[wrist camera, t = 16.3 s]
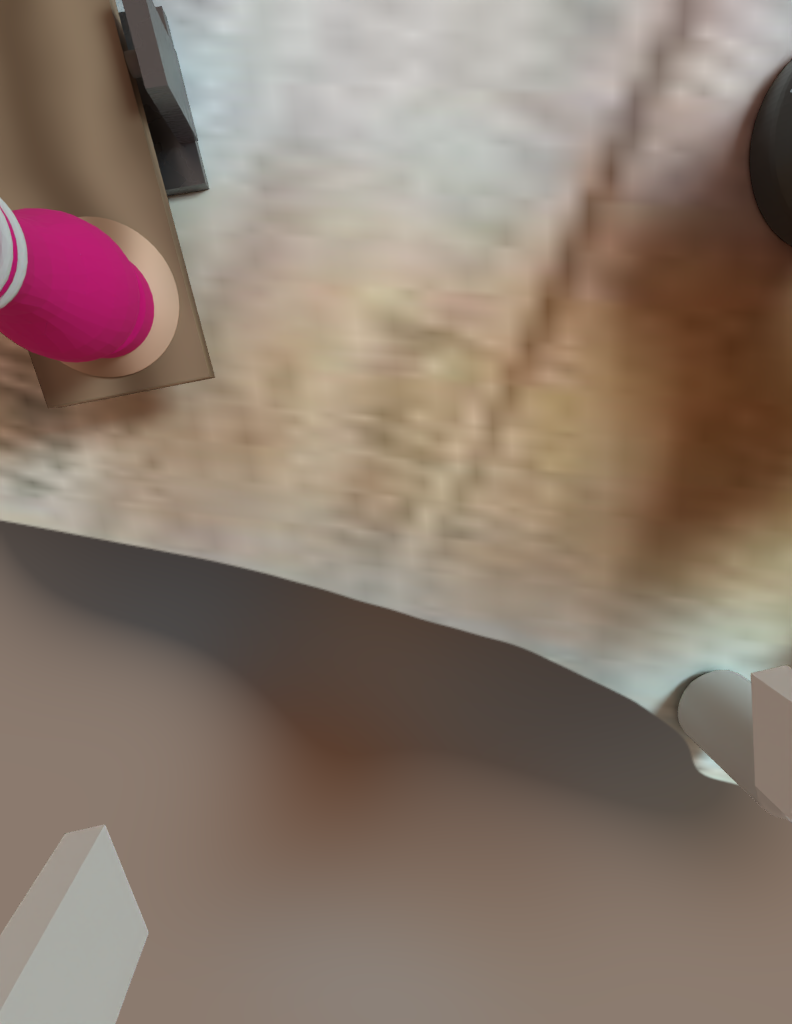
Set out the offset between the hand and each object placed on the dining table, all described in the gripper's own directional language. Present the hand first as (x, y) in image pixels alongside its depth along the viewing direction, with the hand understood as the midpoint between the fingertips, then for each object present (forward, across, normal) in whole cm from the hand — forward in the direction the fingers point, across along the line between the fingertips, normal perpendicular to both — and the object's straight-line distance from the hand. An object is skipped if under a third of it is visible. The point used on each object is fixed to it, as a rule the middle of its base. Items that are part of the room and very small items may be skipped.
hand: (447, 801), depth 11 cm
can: (+33, +27, -26) cm, 50 cm away
